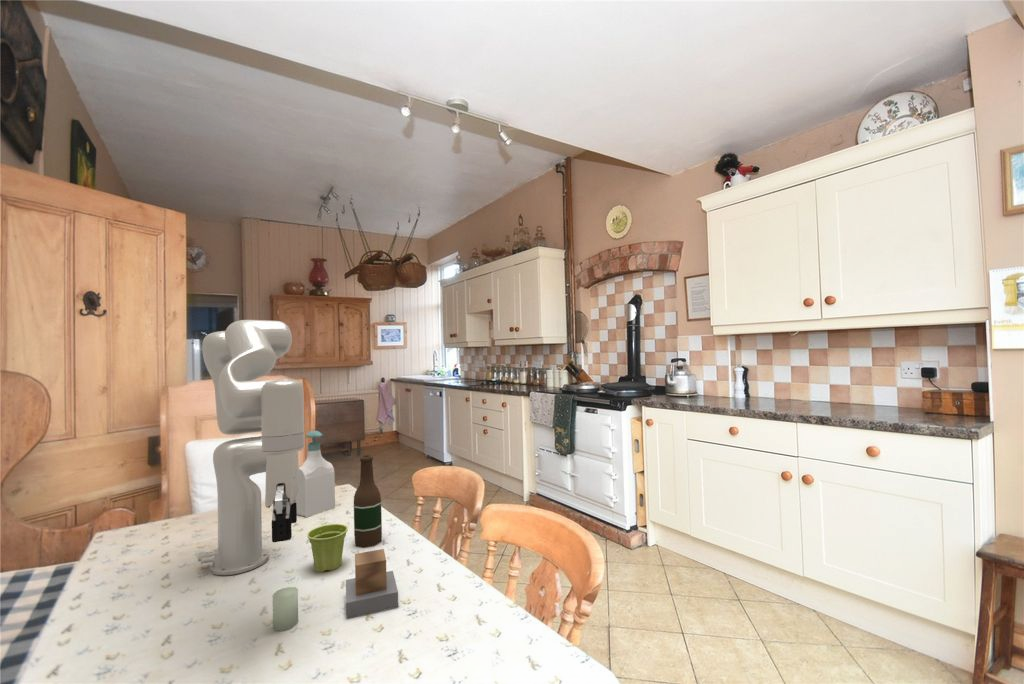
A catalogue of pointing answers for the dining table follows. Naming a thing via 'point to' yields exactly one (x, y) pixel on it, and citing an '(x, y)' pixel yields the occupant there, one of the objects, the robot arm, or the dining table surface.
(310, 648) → the dining table surface
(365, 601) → the plinth
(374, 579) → the cube
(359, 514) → the beer bottle
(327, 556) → the plant pot
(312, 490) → the soap bottle
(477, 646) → the dining table surface
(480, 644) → the dining table surface
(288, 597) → the tin
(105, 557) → the dining table surface
